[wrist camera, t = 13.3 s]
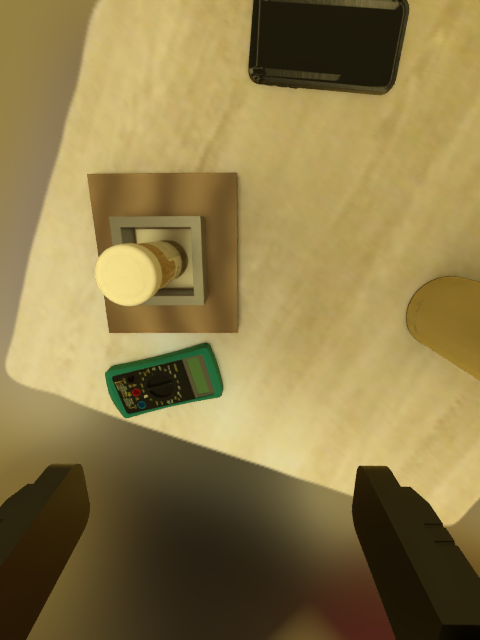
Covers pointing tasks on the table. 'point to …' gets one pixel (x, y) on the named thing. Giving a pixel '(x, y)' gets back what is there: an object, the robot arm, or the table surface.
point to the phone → (328, 44)
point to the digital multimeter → (165, 381)
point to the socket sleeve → (126, 234)
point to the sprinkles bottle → (138, 270)
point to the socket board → (177, 200)
